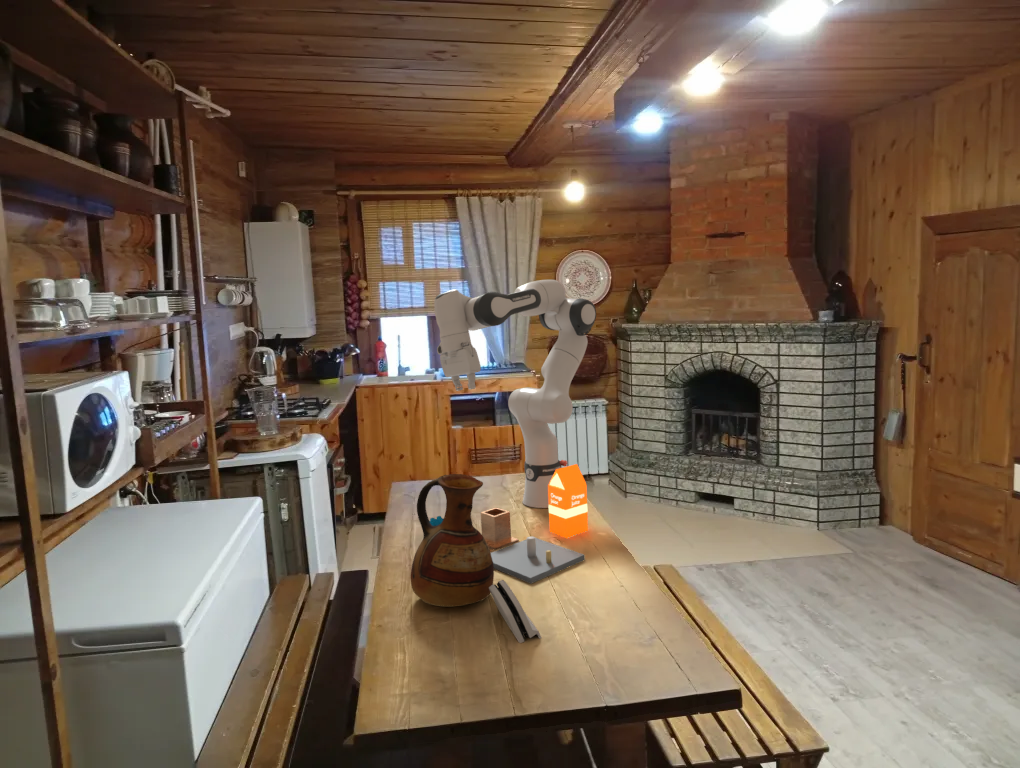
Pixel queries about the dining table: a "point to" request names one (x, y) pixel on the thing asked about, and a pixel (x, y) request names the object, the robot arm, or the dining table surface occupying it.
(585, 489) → the orange juice
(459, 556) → the ceramic pitcher
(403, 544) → the dining table surface
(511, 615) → the half-moon napkin holder
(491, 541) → the copper sleeve
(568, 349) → the robot arm
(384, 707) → the dining table surface
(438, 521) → the gear
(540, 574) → the base plate
